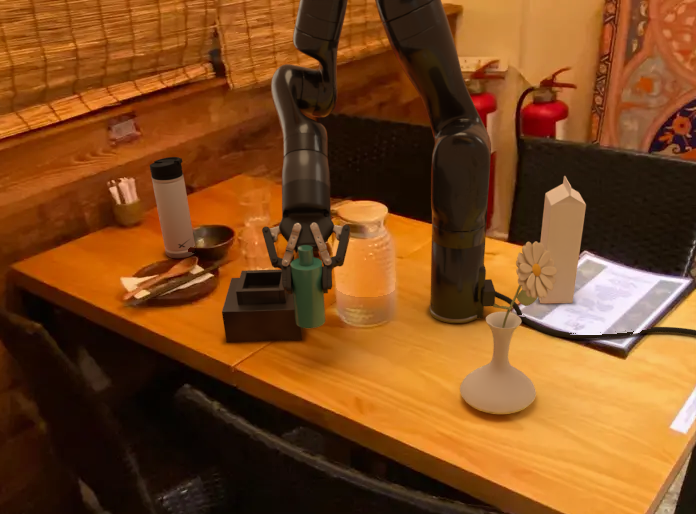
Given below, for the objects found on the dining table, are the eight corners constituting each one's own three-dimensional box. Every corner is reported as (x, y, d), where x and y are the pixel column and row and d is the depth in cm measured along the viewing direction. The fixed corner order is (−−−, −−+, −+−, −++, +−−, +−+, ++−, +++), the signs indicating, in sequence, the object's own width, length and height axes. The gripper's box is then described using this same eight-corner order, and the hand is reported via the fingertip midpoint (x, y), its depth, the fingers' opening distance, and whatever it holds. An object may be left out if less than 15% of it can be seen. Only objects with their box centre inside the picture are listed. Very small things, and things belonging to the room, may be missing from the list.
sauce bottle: (325, 313, 126) (321, 240, 119) (325, 328, 122) (320, 254, 115) (296, 314, 126) (290, 241, 119) (294, 328, 122) (288, 254, 115)
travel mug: (190, 260, 163) (174, 164, 151) (161, 257, 164) (142, 163, 152) (202, 247, 168) (187, 154, 156) (173, 245, 169) (156, 153, 157)
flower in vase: (482, 429, 113) (494, 270, 98) (446, 389, 121) (452, 238, 107) (559, 407, 117) (580, 252, 102) (518, 370, 125) (533, 222, 111)
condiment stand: (305, 305, 145) (302, 262, 140) (301, 340, 135) (298, 296, 130) (235, 307, 145) (229, 265, 140) (226, 342, 134) (219, 298, 129)
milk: (540, 304, 144) (552, 187, 131) (535, 289, 149) (546, 175, 136) (573, 303, 144) (588, 186, 131) (567, 288, 149) (581, 174, 136)
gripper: (256, 177, 118) (257, 285, 115) (351, 175, 118) (354, 283, 115) (263, 199, 125) (263, 300, 123) (352, 197, 126) (354, 298, 123)
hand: (307, 291), depth 119 cm, fingers closed on sauce bottle, 5 cm apart
